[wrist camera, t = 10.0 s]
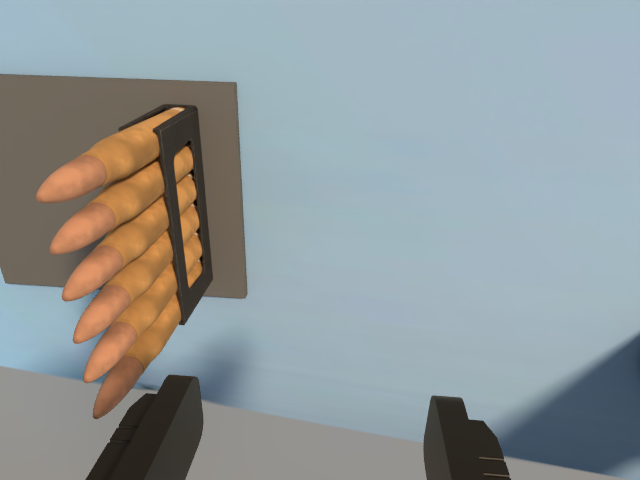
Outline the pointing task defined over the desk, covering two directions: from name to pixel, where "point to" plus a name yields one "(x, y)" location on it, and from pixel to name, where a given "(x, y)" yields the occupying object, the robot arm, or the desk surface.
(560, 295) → the desk surface
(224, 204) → the mat
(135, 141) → the ammunition clip
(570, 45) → the desk surface
